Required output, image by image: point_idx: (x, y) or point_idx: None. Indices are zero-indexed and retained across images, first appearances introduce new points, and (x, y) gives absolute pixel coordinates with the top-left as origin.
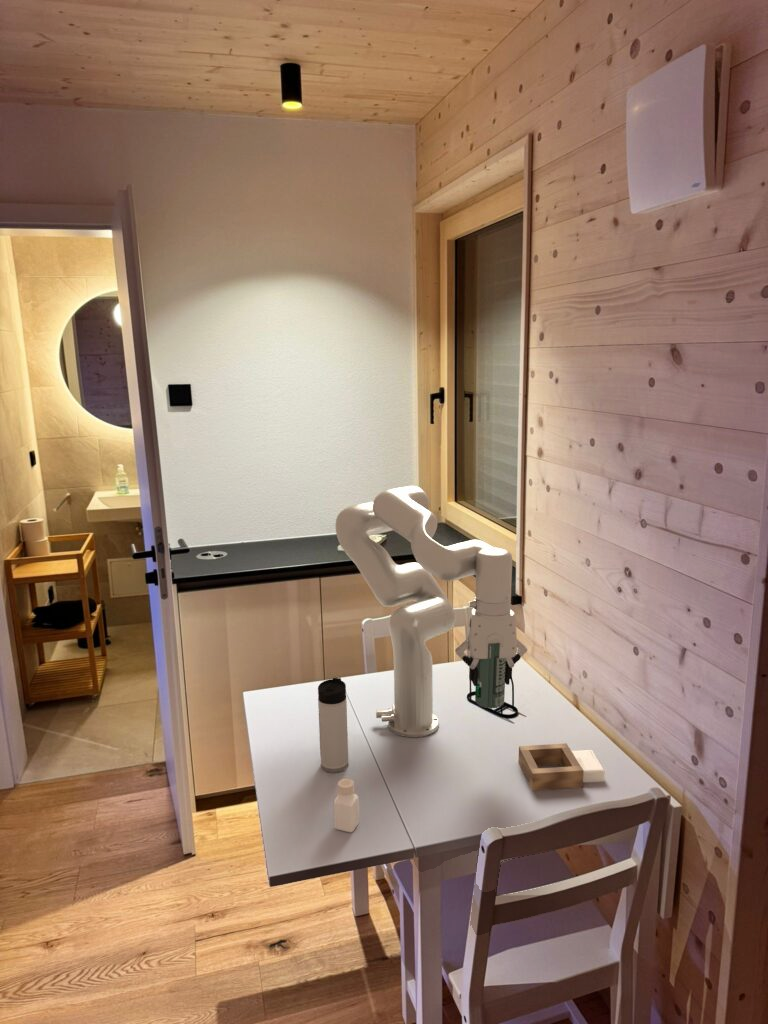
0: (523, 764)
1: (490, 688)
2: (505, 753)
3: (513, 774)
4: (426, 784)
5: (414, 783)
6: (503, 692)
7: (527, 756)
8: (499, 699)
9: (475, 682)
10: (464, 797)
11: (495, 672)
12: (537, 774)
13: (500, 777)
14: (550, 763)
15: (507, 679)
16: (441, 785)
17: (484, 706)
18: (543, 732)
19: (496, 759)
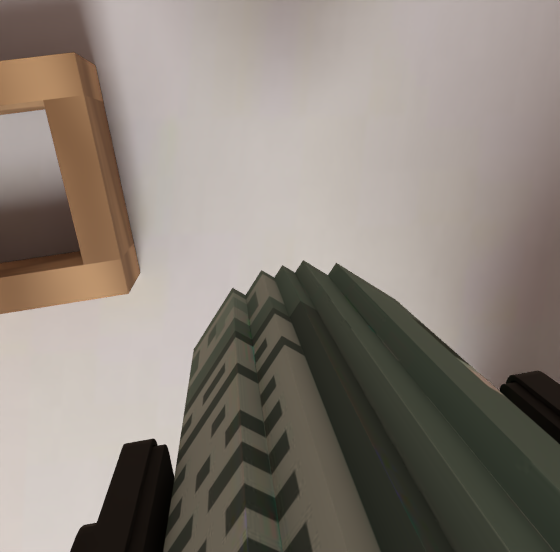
0: (118, 206)
1: (361, 327)
2: (188, 332)
3: (166, 186)
4: (505, 108)
5: (546, 115)
6: (198, 381)
7: (92, 207)
8: (240, 311)
9: (550, 390)
10: (374, 16)
11: (370, 448)
12: (51, 55)
13: (220, 163)
14: (4, 262)
15: (140, 478)
16: (451, 102)
17: (359, 277)
18: (26, 486)
19: (226, 289)
